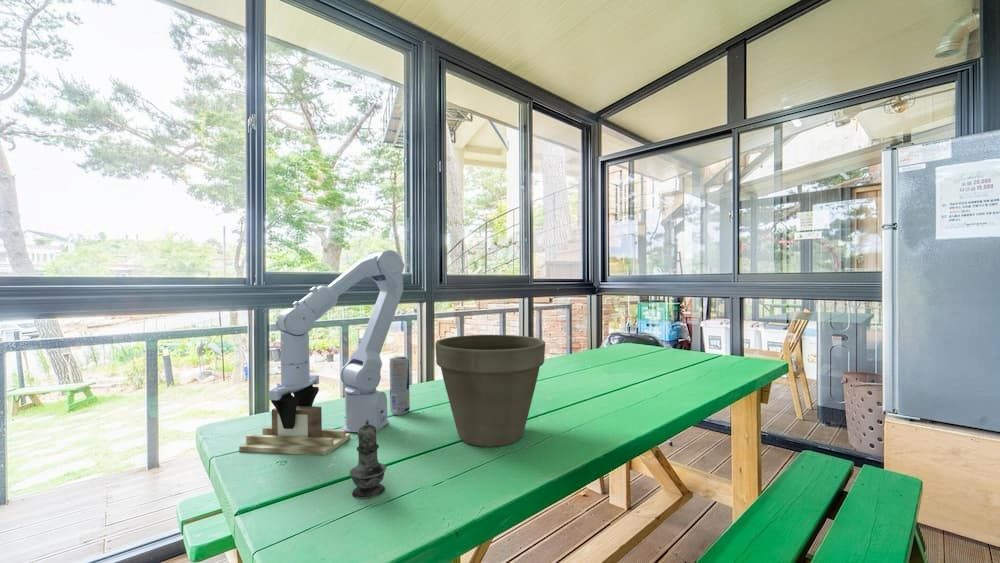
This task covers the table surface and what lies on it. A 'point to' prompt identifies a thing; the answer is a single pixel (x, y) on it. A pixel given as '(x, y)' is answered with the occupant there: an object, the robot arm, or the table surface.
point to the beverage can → (399, 385)
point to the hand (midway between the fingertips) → (296, 424)
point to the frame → (300, 423)
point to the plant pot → (490, 384)
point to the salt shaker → (368, 465)
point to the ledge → (295, 443)
